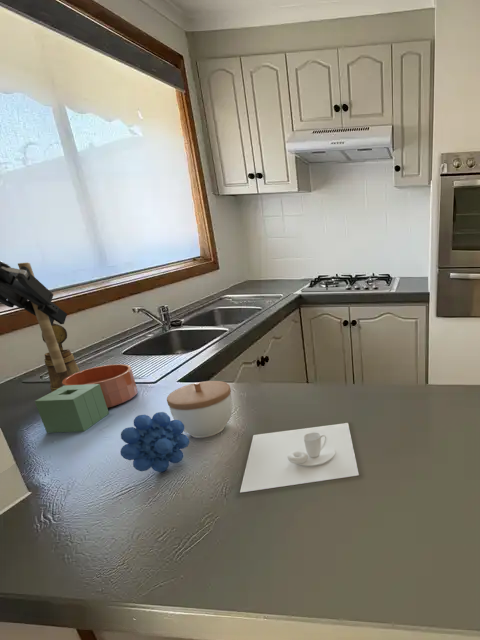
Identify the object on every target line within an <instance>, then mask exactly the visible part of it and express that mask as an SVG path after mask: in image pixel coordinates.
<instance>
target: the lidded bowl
mask: <svg viewBox="0 0 480 640" xmlns="http://www.w3.org/2000/svg"><path fill="white" fill-rule="evenodd" d="M166 403H167V405H168V407H169V410H170V414H171V416H172V419H173V420H179V421H181V422H182V423H183V424H184V431H183V433H186V434H188V435H190V436H191V437H193V438H197V439H204V438H209V437H213V436H216V435H218V434H219V433H221V432H223V431H224V429H225V428H226V425H227V424H228V423H229V421H230V419H231V417H232V413H233V398H232V390H231V385H230V384H229V383H228V382H225V381H222V380H206V381H205V380H204V381H199V382H198V381H197V382H193V383H189V384H187V385H184V386H181V387H178V388H177V389H175V390H173V391H172V392H170V393H169V394H168V396H167V397H166Z"/></svg>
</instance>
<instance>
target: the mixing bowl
mask: <svg viewBox="0 0 480 640" xmlns="http://www.w3.org/2000/svg"><path fill="white" fill-rule="evenodd" d="M62 384H63V386H65V385H87V384H100V387H101V390H102V393H103V396H104V399H105V402H106V405H107V409H109V408H113V407H116V406H119V405H121V404H124V403H126V402H128V401H130V400H132V399H133V398H134V397H135V396H137V394H138V393H139V390H138V387H137V383H136V378H135V377H134V373H133V369H132V366H131V365H129V364H126V363H125V364H124V363H123V364H122V363H115V364H114V363H113V364H105V365H99V366H94V367H89V368H87V369H82V370H80V372H77V373H74V374H72V375H70V376H68V377H66V378H65V379H64V380H63V381H62Z"/></svg>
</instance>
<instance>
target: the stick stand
mask: <svg viewBox="0 0 480 640" xmlns="http://www.w3.org/2000/svg"><path fill="white" fill-rule="evenodd" d="M34 403H35V406H36V409H37V411H38V415H39V416H40V420H41V421H42V424H43V426H44V430H45V433H47V434H51V433H53V434H55V433H79V432H86V431H88V429H90V428H91V427H93V426H94V425H96V424H97V423H98V422H100V421H101V420H103V419H104V418H105V417H107V416H108V415H110V412H109V408H107V405H106V402H105V399H104V396H103V393H102V390H101V387H100V384H87V385H65V386H62V387H60V388H59V389H57V390H55V391H53V392H52V391H51V392H49V393H48V394H45V395H44V396H42V397H40V398H38V399H36V400H34Z"/></svg>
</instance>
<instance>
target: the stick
mask: <svg viewBox="0 0 480 640" xmlns="http://www.w3.org/2000/svg"><path fill="white" fill-rule="evenodd" d="M17 266H18V269H20V268H21V266H25V267H27V268H28V269H29V271H30V273H31V274H32V275H33V276H34V277H35V274H34V272H33V268H32V265H31V263H30V262H29V261H28V262H26V261H25V262H19V263H17ZM31 303H32V302H31ZM32 306H33V308H34V311H35V314H36V316H35V317H36V320H37V323H38V326H39V328H40V331H41V335H42V334H43V337H44V339H45V342H46V343H45V342H44V343H45V345H46V347H47V350H48V353H50V356H51V359H52V362H53V365H54V367H55V370H56V372H57V373H60V372H64V371H66V370H67V369H66V366H65V363H64V360H63V358H62V355H61V352H60V349H59V346H58V343H57V340H56V337H55V334H54V331H53V329H52V326H51V323H50V320H49V317H48V315H46V314H45V313H43V312H42V311H40V310H38V309H37V308H38V306H37V305H36V304H34V303H32Z"/></svg>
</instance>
